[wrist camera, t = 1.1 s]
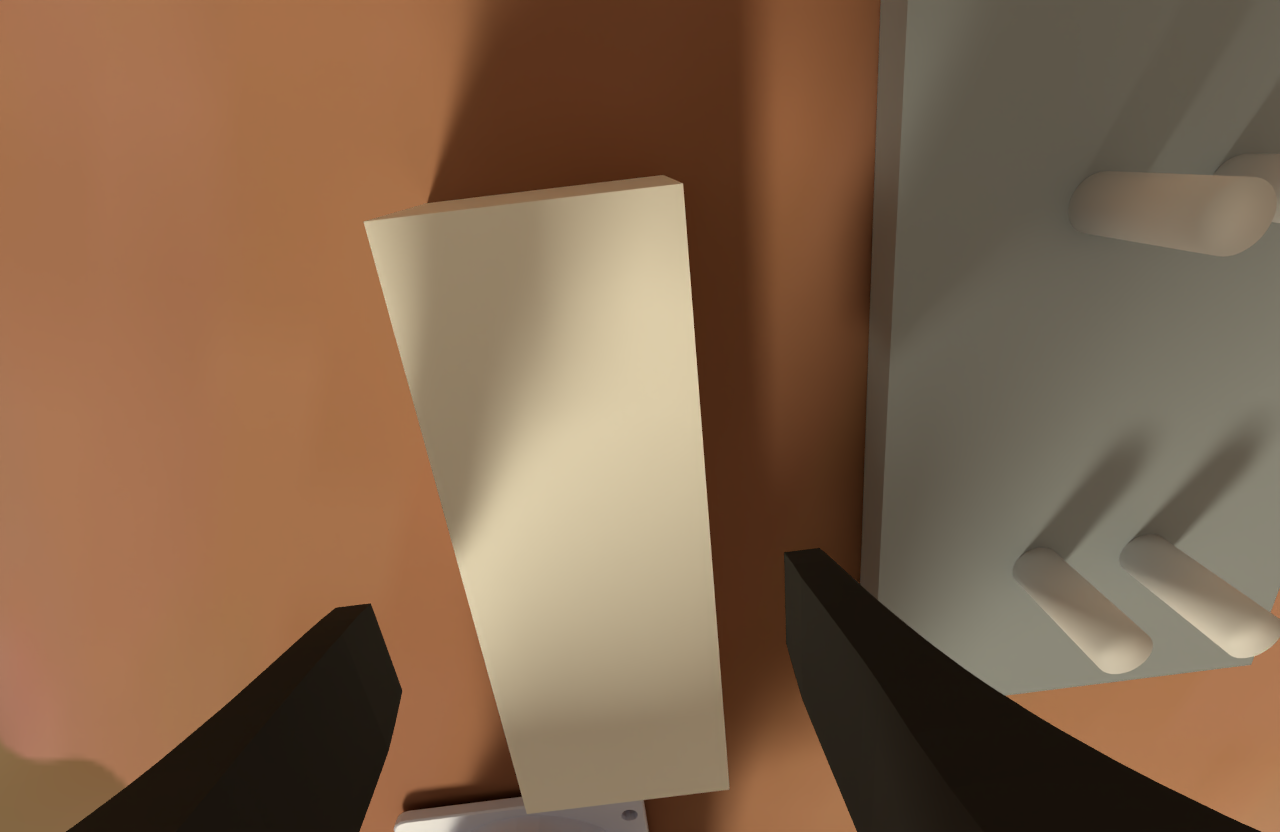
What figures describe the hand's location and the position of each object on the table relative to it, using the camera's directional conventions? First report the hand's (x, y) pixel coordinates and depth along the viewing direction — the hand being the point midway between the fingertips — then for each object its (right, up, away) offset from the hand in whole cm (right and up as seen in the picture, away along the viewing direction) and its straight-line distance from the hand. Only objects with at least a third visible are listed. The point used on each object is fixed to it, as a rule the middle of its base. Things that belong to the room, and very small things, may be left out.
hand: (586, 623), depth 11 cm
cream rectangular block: (0, +2, +5) cm, 6 cm away
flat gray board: (+12, +4, +5) cm, 14 cm away
